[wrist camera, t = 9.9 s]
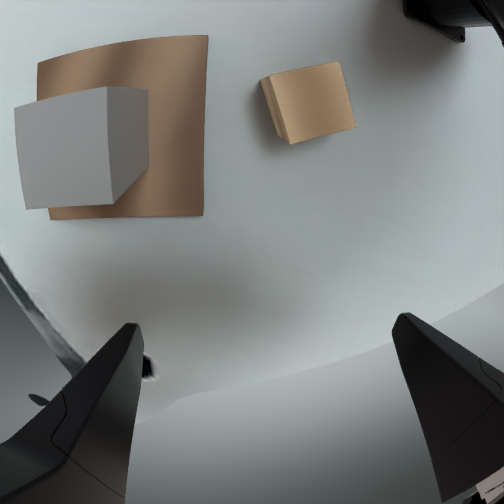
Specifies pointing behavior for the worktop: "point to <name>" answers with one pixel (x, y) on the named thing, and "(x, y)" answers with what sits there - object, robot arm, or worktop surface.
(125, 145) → the slate block
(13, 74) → the worktop surface
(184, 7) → the worktop surface
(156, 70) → the walnut board
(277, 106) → the oak cube
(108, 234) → the worktop surface
